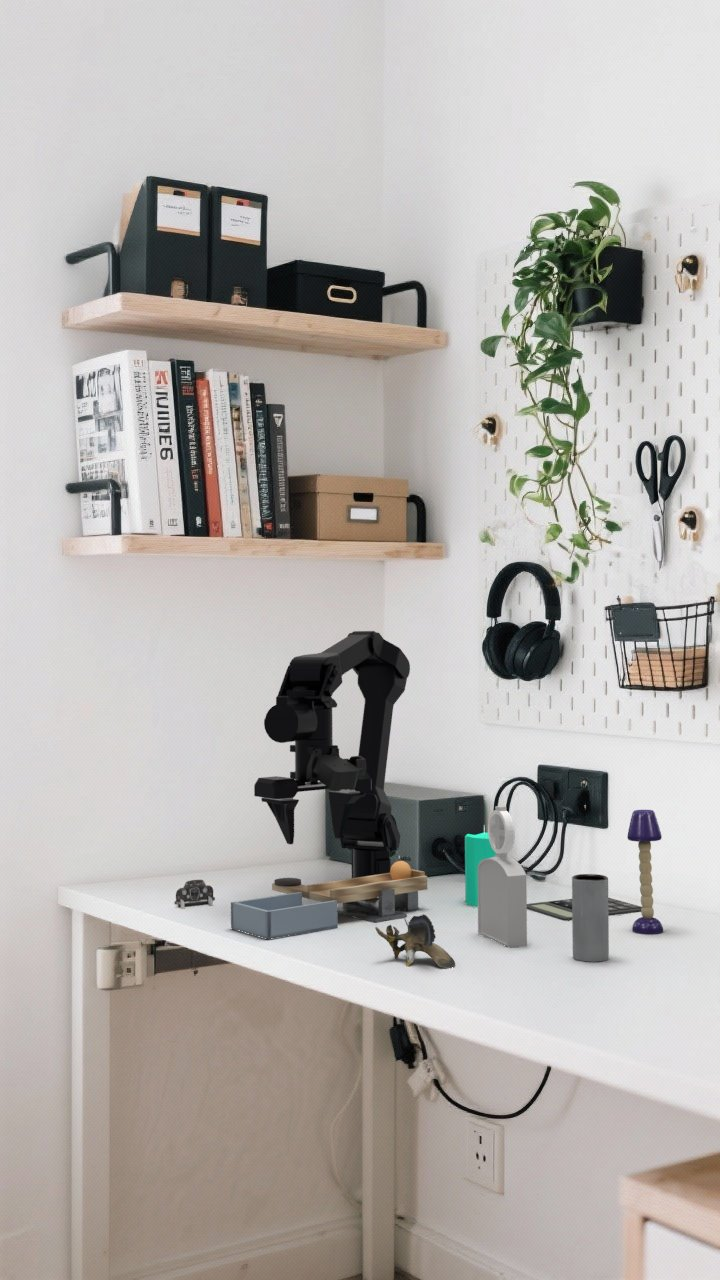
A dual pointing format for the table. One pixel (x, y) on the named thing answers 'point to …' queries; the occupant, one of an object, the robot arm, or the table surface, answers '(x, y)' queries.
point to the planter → (590, 917)
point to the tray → (282, 916)
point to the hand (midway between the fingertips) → (314, 841)
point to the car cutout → (194, 894)
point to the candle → (475, 863)
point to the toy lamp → (645, 867)
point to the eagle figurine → (417, 941)
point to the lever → (352, 887)
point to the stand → (381, 906)
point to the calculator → (564, 908)
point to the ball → (400, 870)
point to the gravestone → (502, 886)
